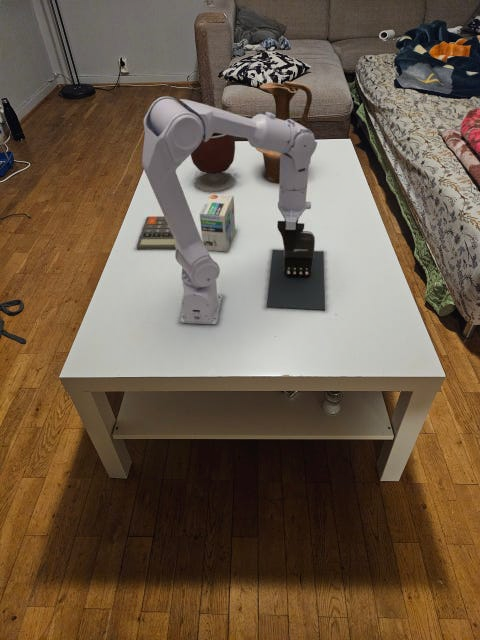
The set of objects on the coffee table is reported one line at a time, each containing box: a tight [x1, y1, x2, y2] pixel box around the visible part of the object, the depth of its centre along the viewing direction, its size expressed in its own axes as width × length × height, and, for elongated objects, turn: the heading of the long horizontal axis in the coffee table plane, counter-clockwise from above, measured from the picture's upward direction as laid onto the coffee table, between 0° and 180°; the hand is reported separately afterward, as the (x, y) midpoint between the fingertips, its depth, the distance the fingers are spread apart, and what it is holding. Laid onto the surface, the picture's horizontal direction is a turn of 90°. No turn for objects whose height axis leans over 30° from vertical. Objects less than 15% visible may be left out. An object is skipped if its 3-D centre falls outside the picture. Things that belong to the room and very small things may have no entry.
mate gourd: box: [190, 133, 236, 193], centre depth 139 cm, size 16×14×20 cm
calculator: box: [136, 216, 176, 250], centre depth 125 cm, size 12×1×15 cm
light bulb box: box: [199, 193, 236, 252], centre depth 119 cm, size 11×7×11 cm, turn 168°
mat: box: [266, 249, 326, 312], centre depth 110 cm, size 22×13×1 cm, turn 174°
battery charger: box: [283, 230, 316, 277], centre depth 106 cm, size 7×4×11 cm, turn 85°
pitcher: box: [255, 80, 313, 183], centre depth 138 cm, size 18×17×28 cm
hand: (290, 239), depth 103 cm, fingers open, 7 cm apart
